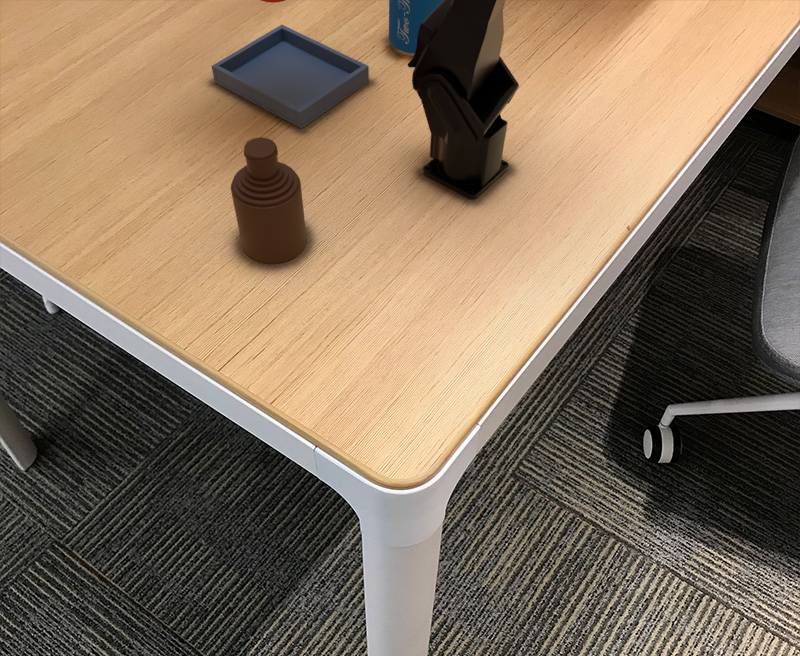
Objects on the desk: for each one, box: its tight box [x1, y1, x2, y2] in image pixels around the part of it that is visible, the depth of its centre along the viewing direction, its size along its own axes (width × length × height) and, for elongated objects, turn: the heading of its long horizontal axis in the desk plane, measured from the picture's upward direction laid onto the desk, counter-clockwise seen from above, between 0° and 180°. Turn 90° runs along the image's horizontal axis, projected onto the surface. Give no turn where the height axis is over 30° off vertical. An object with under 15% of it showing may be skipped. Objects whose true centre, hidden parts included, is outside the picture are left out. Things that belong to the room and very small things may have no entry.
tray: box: [211, 24, 370, 130], centre depth 85 cm, size 13×11×2 cm
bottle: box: [230, 136, 308, 265], centre depth 67 cm, size 6×6×10 cm
